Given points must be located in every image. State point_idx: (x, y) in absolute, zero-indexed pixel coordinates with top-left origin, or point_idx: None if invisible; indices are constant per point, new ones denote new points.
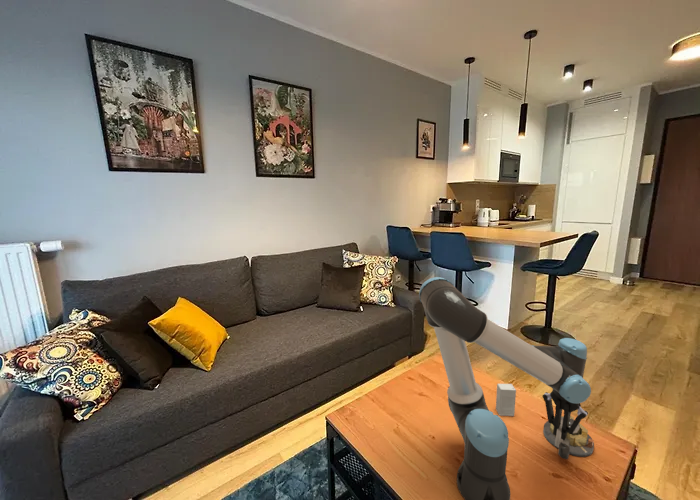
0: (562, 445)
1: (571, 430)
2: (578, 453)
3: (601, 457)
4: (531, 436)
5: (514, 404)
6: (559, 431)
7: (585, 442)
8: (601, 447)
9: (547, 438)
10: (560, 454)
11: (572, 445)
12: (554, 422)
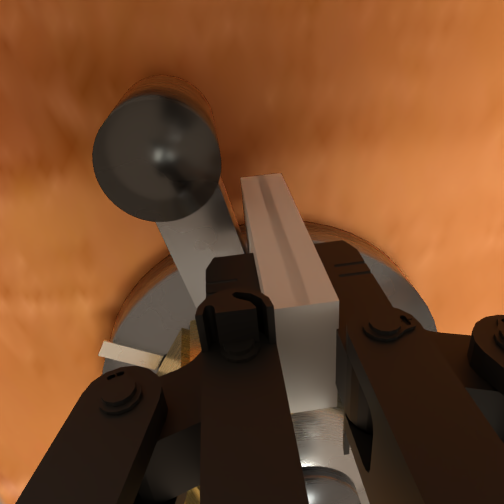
0: (183, 161)
1: (79, 459)
2: (138, 296)
3: (63, 394)
4: (469, 164)
5: None
6: (292, 295)
7: None
8: None
9: (366, 246)
10: (171, 80)
11: (194, 321)
12: (451, 381)
